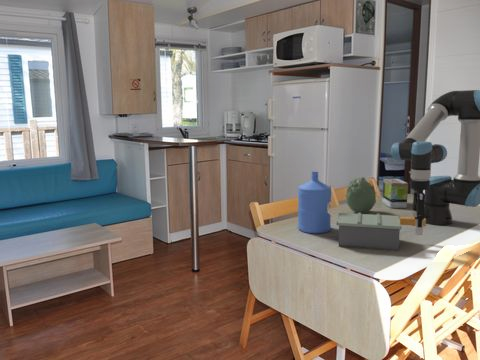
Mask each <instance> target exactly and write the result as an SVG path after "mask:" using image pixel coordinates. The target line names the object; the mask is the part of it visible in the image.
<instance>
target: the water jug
mask: <svg viewBox="0 0 480 360" xmlns="http://www.w3.org/2000/svg"><path fill="white" fill-rule="evenodd" d="M331 187H332V186H330V185H328V184H327V183H324V182H321V181H320V180H319V171H311V180H309V181H307V182H304V183H303V184H300V185H299V186H298V191H297V197H298V198H297V199H298V200H297V201H298V203H297V204H298V205H297V206H298V207H297V212H298V213H297V214H298V215H297V220H298V223H297V229H298V230H299V231H301V232H303V233H307V234H324V233H327V232H329V231H331V228H332V227H331V226H332V225H331V218H332V216H331V214H330V213H329V212H328V205H329V203H330V202H331V200H332V188H331Z"/></svg>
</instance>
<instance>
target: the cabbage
mask: <svg viewBox="0 0 480 360" xmlns="http://www.w3.org/2000/svg"><path fill="white" fill-rule="evenodd" d="M345 199H346V203H347V206H348V207H349V209H350V210H351V211H353V212H354V213H356V214H358V213H361V214H365V213H367V212H369V211H371V210H372V209H373V207H375V206H376V205H375V204H376V202H377V199H376V190H375V186H374V185H372V184H371V183H370V182H368V181H367V179H366V178H365V177H364V176H363V177H358V178H353V179H350V180H349V182H348V186H347V188H346V192H345Z"/></svg>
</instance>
